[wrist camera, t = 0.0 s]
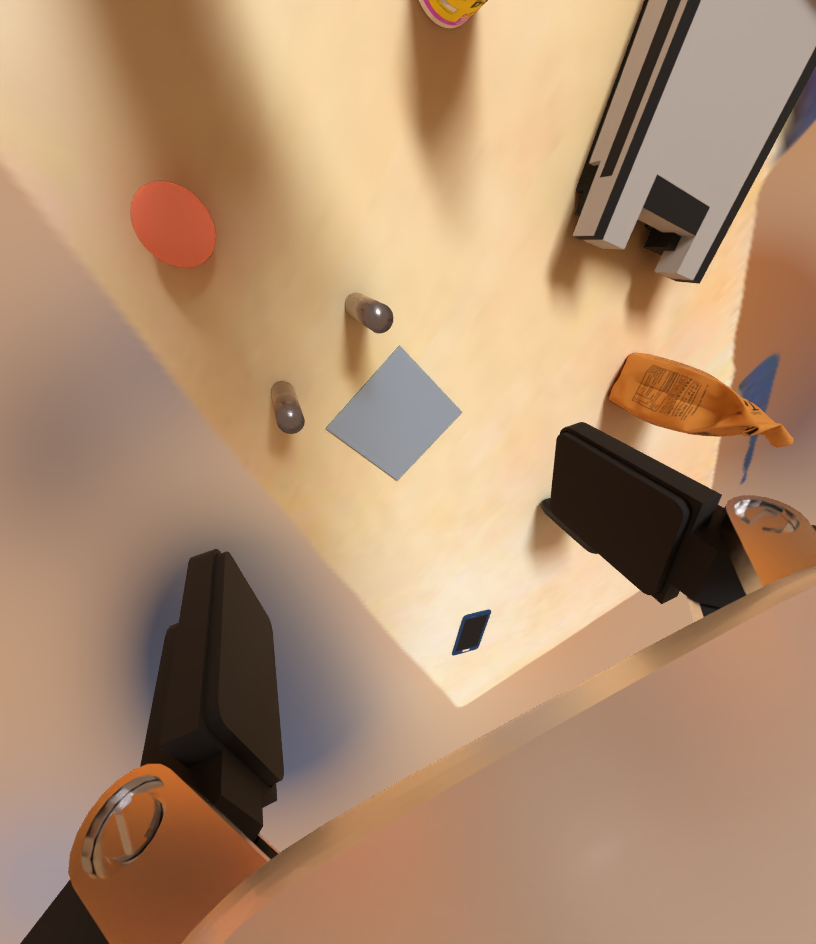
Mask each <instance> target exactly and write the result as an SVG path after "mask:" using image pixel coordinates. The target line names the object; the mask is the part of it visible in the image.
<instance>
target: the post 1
mask: <svg viewBox="0 0 816 944" xmlns="http://www.w3.org/2000/svg"><path fill="white" fill-rule="evenodd" d="M271 394H272V399H273V404H274V409H275V414H276V419H277V424H278V427H279V428H280V429H281V430H282V431H283V432H285V433H289V434H293V433H297V432H299V431H300V430H301V429H302V428H303V426H304V423H305V420H304V417H303V414H302V411H301V408H300V405H299V403H298V400H297V397H296V394H295V391H294V389H293V387H292V385H291V384H289V383H287V382H284V381H281V382H277V383H275V384H274V385H273V387H272V389H271Z"/></svg>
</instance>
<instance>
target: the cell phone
mask: <svg viewBox="0 0 816 944" xmlns="http://www.w3.org/2000/svg"><path fill="white" fill-rule="evenodd" d="M490 614H491V610H485V611H480V612H476V613H472V614H468V615H465V616H464V617H463V619H462V622H461V625H460V629H459V632H458V635H457V638H456V642H455V645H454V648H453V652H452V655H458V654H461V653H465V652H468V651H472V650H475V649H477V648H478V647H479V645H480V642H481V639H482V636H483V633H484V631H485V628H486V625H487V622H488V619H489V617H490Z"/></svg>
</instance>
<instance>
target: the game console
mask: <svg viewBox="0 0 816 944" xmlns="http://www.w3.org/2000/svg"><path fill="white" fill-rule="evenodd" d="M815 66H816V0H645V1H644V4H643V7H642V10H641V12H640V15H639V18H638V21H637V23H636V26H635V29H634V32H633V34H632V37H631V40H630V43H629V45H628V48H627V51H626V54H625V56H624V59H623V62H622V65H621V67H620V70H619V73H618V76H617V78H616V81H615V84H614V87H613V89H612V92H611V95H610V97H609V100H608V103H607V106H606V108H605V111H604V114H603V117H602V119H601V122H600V125H599V128H598V130H597V133H596V136H595V139H594V141H593V144H592V147H591V150H590V152H589V155H588V158H587V161H586V163H585V166H584V169H583V172H582V174H581V177H580V180H579V183H578V185H577V188H576V191H577V192H579V193H581V194H582V197H581V200H580V202H579V205H578V208H577V210H576V213H575V215H577V216H580V217H579V220H578V223H577V225H576V228H575V230H574V233H573V236H574V237H576V238H578V239H580V240H583V241H585V242H587V243H590V244H592V245H594V246H597V247H599V248H601V249H625V247H626V244H627V242H628V240H629V238H630V235H631V233H632V231H633V228H634V226H635V224H636V222H637V219H638V220H640V221H642V222H644V223H645V227H647V228H649V229H651V232H650V235H649V237H648V239H647V241H646V243H645V246H644V247H645V248H647V249H649V250H652V251H654V252H656V253H658V254H660V255H662V256H661V258H660V260H659V262H658V264H657V266H656V268H655V271H654V272H656V273H659V274H661V275H663V276H666V277H668V278H670V279H672V280H675V281H679V282H689V283H700V282H701V280H702V278H703V276H704V274H705V272H706V271H707V269H708V267H709V265H710V263H711V261H712V259H713V257H714V256H715V254H716V252H717V250H718V248H719V246H720V244H721V242H722V241H723V239H724V237H725V235H726V233H727V231H728V229H729V227H730V226H731V224H732V222H733V220H734V218H735V216H736V214H737V213H738V211H739V209H740V207H741V205H742V203H743V201H744V199H745V198H746V196H747V194H748V192H749V190H750V188H751V186H752V184H753V183H754V181H755V179H756V177H757V175H758V173H759V171H760V169H761V168H762V166H763V164H764V162H765V160H766V158H767V156H768V154H769V153H770V151H771V149H772V147H773V145H774V143H775V141H776V139H777V138H778V136H779V134H780V132H781V130H782V128H783V126H784V124H785V123H786V121H787V119H788V117H789V115H790V113H791V111H792V109H793V108H794V106H795V104H796V102H797V100H798V98H799V96H800V94H801V93H802V91H803V89H804V87H805V85H806V83H807V81H808V79H809V78H810V76H811V74H812V72H813V70H814V68H815Z"/></svg>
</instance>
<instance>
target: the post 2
mask: <svg viewBox="0 0 816 944" xmlns="http://www.w3.org/2000/svg"><path fill="white" fill-rule="evenodd" d="M345 309H346V311H347V313H348V314H349V315H350V316H351V317H353V318H354V319H356V320H357V321H359V322H360V323H362V324H363V325H365V326H366V327H368V328H369V329H370V330H372V331H373V332H375V333H384V332H386V331H388V330H389V329H390V327H391V326H392V323H393V313H392V311H391V309H390V308H389V307H388V306H386V305H385V304H382V303H380V302H378V301H375V300H373V299H371V298H369V297H366V296H364V295H362V294H359V293H353V294H351V295H349V296H348V297H347V299H346V302H345Z"/></svg>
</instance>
